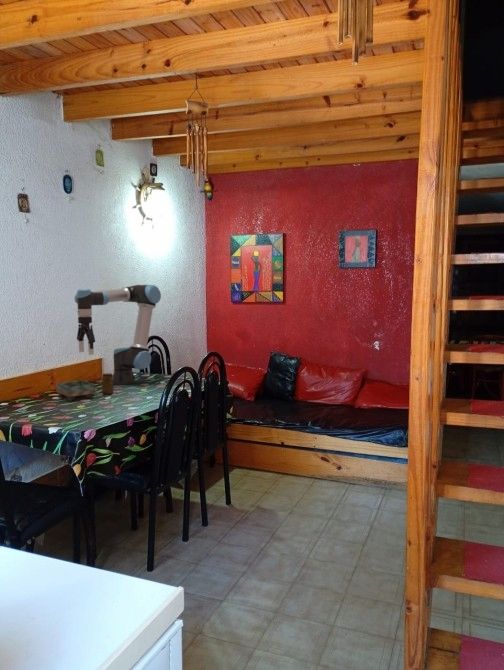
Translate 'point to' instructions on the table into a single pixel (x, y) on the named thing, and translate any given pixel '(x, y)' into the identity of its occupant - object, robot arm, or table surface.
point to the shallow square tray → (75, 389)
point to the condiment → (107, 385)
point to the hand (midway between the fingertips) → (86, 353)
